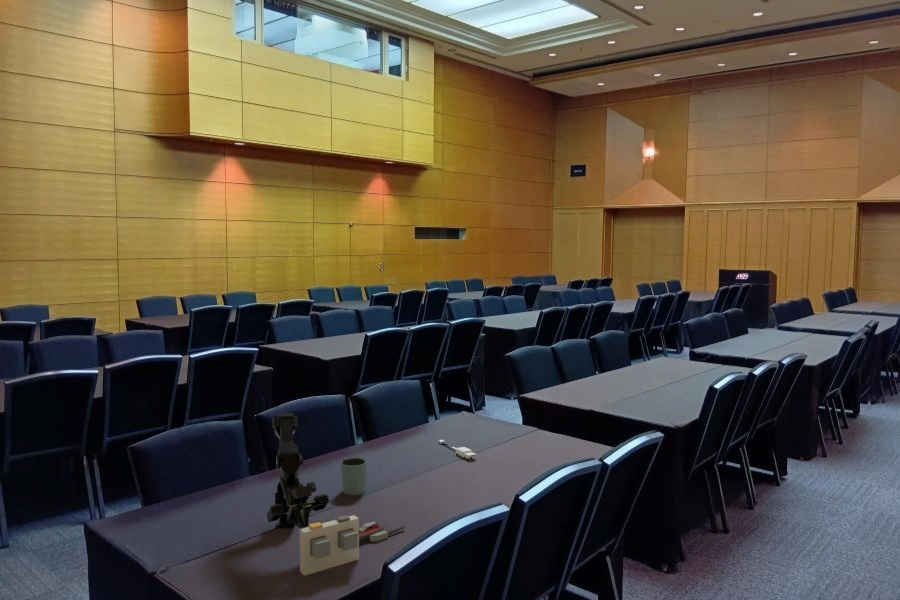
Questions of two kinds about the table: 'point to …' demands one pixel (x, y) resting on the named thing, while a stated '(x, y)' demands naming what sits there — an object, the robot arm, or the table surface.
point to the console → (336, 553)
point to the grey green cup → (353, 475)
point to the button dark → (347, 539)
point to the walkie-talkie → (374, 532)
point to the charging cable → (463, 451)
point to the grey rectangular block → (320, 547)
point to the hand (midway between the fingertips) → (306, 533)
